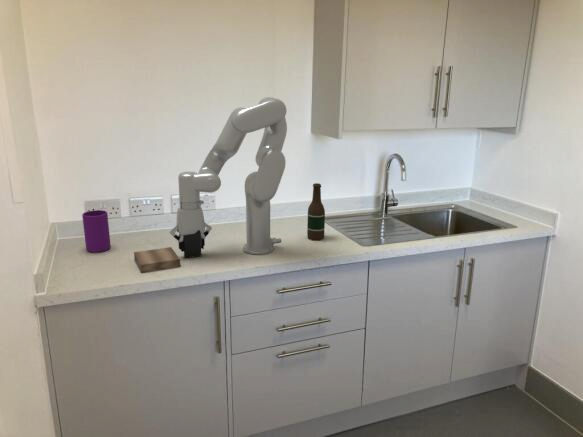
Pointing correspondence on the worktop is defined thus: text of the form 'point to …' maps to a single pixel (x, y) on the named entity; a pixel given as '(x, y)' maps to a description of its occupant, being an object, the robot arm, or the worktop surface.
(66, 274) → the worktop surface
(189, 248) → the battery charger
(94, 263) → the worktop surface
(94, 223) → the mug
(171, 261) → the plinth
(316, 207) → the beer bottle
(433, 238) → the worktop surface
